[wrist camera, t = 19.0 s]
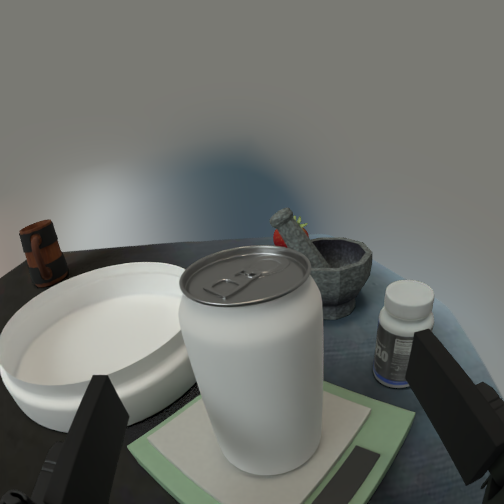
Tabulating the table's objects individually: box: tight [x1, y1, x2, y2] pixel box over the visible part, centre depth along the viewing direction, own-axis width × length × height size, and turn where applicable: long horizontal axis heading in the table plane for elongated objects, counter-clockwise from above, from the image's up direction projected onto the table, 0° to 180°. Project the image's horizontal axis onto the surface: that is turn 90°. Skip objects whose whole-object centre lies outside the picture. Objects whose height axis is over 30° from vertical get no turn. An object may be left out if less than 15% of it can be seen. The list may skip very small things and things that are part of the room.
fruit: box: [273, 216, 309, 248], centre depth 48 cm, size 5×5×8 cm
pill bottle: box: [373, 280, 434, 388], centre depth 24 cm, size 5×5×8 cm
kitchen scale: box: [127, 381, 415, 504], centre depth 19 cm, size 15×14×3 cm
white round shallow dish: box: [0, 262, 196, 433], centre depth 33 cm, size 27×27×6 cm
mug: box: [19, 220, 68, 287], centre depth 53 cm, size 9×12×12 cm
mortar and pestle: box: [270, 208, 372, 320], centre depth 36 cm, size 11×9×12 cm
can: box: [178, 245, 323, 475], centre depth 16 cm, size 6×6×12 cm
